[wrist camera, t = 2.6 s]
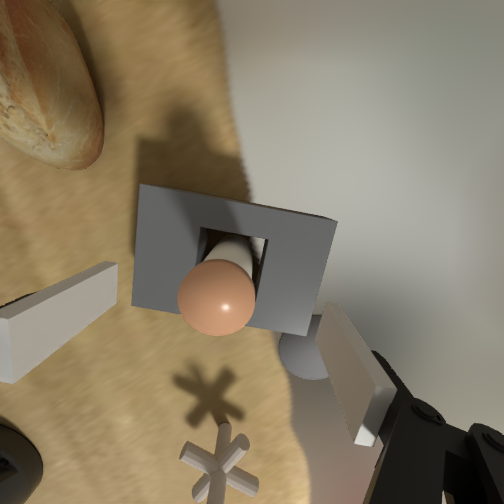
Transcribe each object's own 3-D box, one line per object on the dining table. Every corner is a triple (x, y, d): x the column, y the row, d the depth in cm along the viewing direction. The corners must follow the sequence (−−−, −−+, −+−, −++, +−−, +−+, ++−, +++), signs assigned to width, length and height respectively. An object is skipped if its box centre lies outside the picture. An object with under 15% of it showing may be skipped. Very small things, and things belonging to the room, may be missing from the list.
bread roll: (74, -15, 21) (-29, -132, 14) (139, 155, 25) (86, 138, 17) (-18, 23, 22) (-164, -67, 14) (57, 183, 26) (-29, 178, 18)
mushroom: (208, 270, 28) (173, 328, 16) (215, 228, 26) (181, 257, 15) (251, 278, 28) (247, 341, 16) (259, 236, 27) (261, 271, 15)
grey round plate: (272, 371, 31) (272, 373, 30) (287, 308, 29) (287, 310, 28) (339, 382, 31) (340, 384, 31) (359, 321, 29) (361, 323, 29)
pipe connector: (214, 386, 32) (195, 472, 22) (275, 421, 33) (283, 517, 23) (176, 434, 34) (144, 532, 24) (235, 465, 35) (227, 570, 25)
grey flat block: (150, 288, 28) (131, 305, 24) (159, 185, 25) (139, 183, 21) (298, 314, 29) (306, 336, 24) (324, 216, 26) (337, 221, 22)
